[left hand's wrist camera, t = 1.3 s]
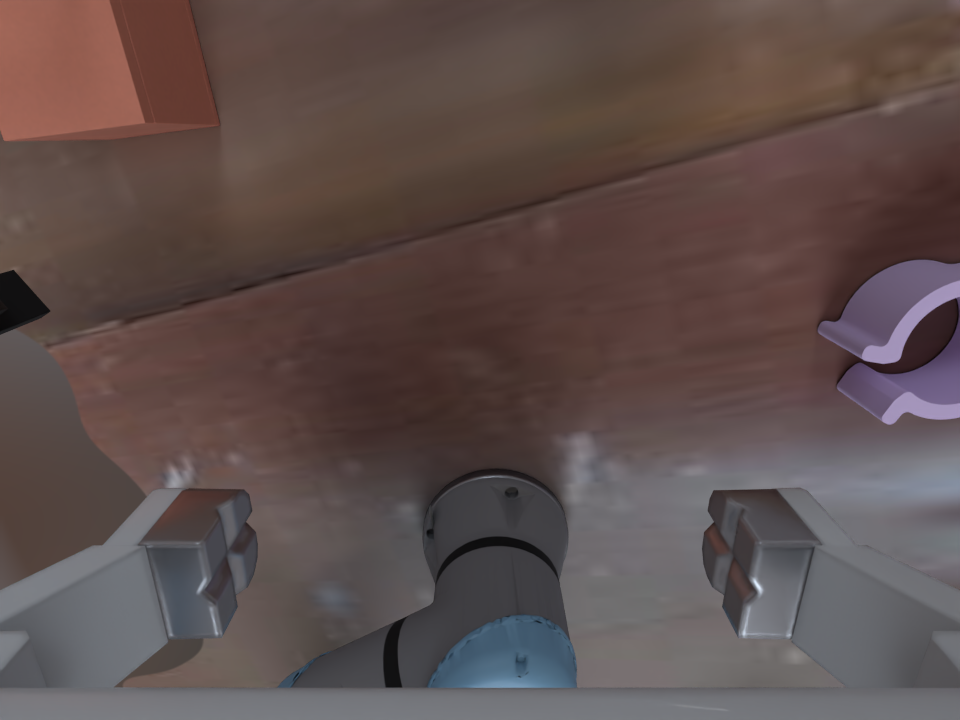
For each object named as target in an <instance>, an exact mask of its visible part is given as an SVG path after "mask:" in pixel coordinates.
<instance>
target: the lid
mask: <svg viewBox="0 0 960 720" xmlns="http://www.w3.org/2000/svg"><path fill="white" fill-rule="evenodd" d="M146 124H154V120H153V116H152V113H151V109H150V106H149V102H148V99H147V95H146V92H145V88H144V85H143V81H142V78H141V74H140V71H139V67H138V64H137V60H136V57H135V53H134V50H133V46H132V43H131V39H130V36H129V32H128V29H127V25H126V22H125V19H124V15H123V12H122V8H121V5H120V1H119V0H0V131H1V133H2V136H3V139H4V141H22V140H30V139H37V138H45V137H53V136H61V135H68V134H76V133H84V132H92V131H100V130H107V129H115V128H123V127H131V126H138V125H146Z"/></svg>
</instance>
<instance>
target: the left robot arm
mask: <svg viewBox="0 0 960 720" xmlns="http://www.w3.org/2000/svg"><path fill="white" fill-rule="evenodd" d="M251 512H252V507H251V502H250V497H249V494H248V493H247V492H246V491H245V490H243V489H194V488H189V489H186V488H160V489H156V490H153V491H152V492H151V493H150V494H149V495H148V496H147V498H146V499H145V500H144V501H143V502H142V503H141V504H140V505H139V506H138V507H137V509H136V510H135V511H134V512H133V513H132V514H131V515H130V516H129V517H128V518H127V519H126V521H125V522H124V523H123V524H122V525H121V526H120V527H119V528H118V529H117V530H116V531H115V532H114V534H113V535H112V536H111V537H110V538H109V539H108V540H107V541H106V542H105V543H104V544H103V546H91V547H89V548H87V549H85V550H83V551H81V552H79V553H77V554H75V555H73V556H70V557H68V558H66V559H64V560H62V561H60V562H58V563H56V564H54V565H52V566H50V567H48V568H45V569H43V570H41V571H39V572H37V573H35V574H33V575H31V576H29V577H27V578H25V579H23V580H21V581H18V582H16V583H14V584H12V585H10V586H8V587H6V588H4V589H2V590H0V720H960V590H958V589H956V588H954V587H952V586H950V585H948V584H946V583H944V582H941V581H939V580H937V579H935V578H933V577H931V576H929V575H927V574H925V573H923V572H921V571H919V570H917V569H914V568H912V567H910V566H908V565H906V564H904V563H902V562H900V561H898V560H896V559H894V558H892V557H890V556H887V555H885V554H883V553H881V552H879V551H877V550H875V549H873V548H871V547H869V546H857V544H856V543H855V542H854V541H853V540H852V539H851V538H850V537H849V536H848V535H847V534H846V532H845V531H844V530H843V529H842V528H841V527H840V526H839V525H838V524H837V523H836V522H835V520H834V519H833V518H832V517H831V516H830V515H829V514H828V513H827V512H826V511H825V510H824V508H823V507H822V506H821V505H820V504H819V503H818V502H817V501H816V500H815V499H814V498H813V496H812V495H811V494H810V493H809V492H808V491H806V490H804V489H802V488H781V489H757V490H714V491H713V493H712V495H711V497H710V500H709V506H708V512H709V514H710V516H711V517H712V519H713V521H714V523H713V524H712V525H711V526H710V527H709V528H708V529H707V530H706V531H705V532H704V538H703V546H702V552H703V564H704V568H705V571H706V574H707V577H708V579H709V581H710V583H711V585H712V587H713V588H714V589H716V590H717V591H719V592H720V593H722V594H723V595H724V600H723V606H722V607H723V609H724V611H725V613H726V615H727V617H728V619H729V621H730V623H731V625H732V626H733V628H734V630H735V632H736V634H737V636H738V638H761V639H792V643H794V644H795V645H796V646H797V647H798V648H800V649H801V650H802V651H803V652H805V653H806V654H807V655H808V656H809V657H811V658H812V659H813V660H814V661H816V662H817V663H818V664H819V665H820V666H822V667H823V668H824V669H825V670H827V671H828V672H829V673H830V674H831V675H833V676H834V677H835V678H836V679H837V680H839V681H840V682H841V683H842V684H844V685H845V686H846V687H847V688H113V687H114V686H115V685H117V684H118V683H119V682H120V681H121V680H123V679H124V678H125V677H126V676H128V675H129V674H130V673H131V672H132V671H134V670H135V669H136V668H137V667H139V666H140V665H141V664H142V663H143V662H145V661H146V660H147V659H148V658H150V657H151V656H152V655H153V654H154V653H156V652H157V651H158V650H159V649H160V648H162V647H163V646H164V645H165V644H167V643H168V639H198V638H222V636H223V634H224V632H225V630H226V628H227V627H228V625H229V623H230V621H231V619H232V617H233V615H234V613H235V611H236V609H237V607H238V606H237V600H236V595H237V594H238V593H240V592H241V591H243V590H244V589H246V588H247V587H248V585H249V583H250V581H251V579H252V577H253V575H254V571H255V566H256V562H257V551H258V544H257V537H256V532H255V531H254V530H253V529H252V528H251V527H250V526H249V525H248V524H247V523H246V521H247V519H248V517H249V516H250V514H251Z"/></svg>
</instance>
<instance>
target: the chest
mask: <svg viewBox="0 0 960 720" xmlns="http://www.w3.org/2000/svg"><path fill="white" fill-rule="evenodd" d="M119 1H120V5H121V8H122V12H123V15H124V19H125V22H126V25H127V29H128V32H129V36H130V39H131V43H132V46H133V50H134V53H135V57H136V60H137V64H138V67H139V71H140V74H141V78H142V81H143V85H144V88H145V92H146V95H147V99H148V102H149V106H150V109H151V113H152V116H153V120H154V124H146V125H138V126H131V127H123V128H115V129H107V130H100V131H92V132H84V133H76V134H68V135H61V136H53V137H45V138H37V139H30V140H22V141H52V140H112V139H120V138H128V137H136V136H143V135H151V134H159V133H167V132H175V131H183V130H190V129H198V128H206V127H214V126H220V122H219V118H218V114H217V110H216V107H215V103H214V99H213V95H212V91H211V87H210V83H209V79H208V75H207V71H206V67H205V63H204V59H203V55H202V51H201V47H200V43H199V39H198V35H197V31H196V27H195V23H194V19H193V15H192V11H191V7H190V3H189V0H119Z"/></svg>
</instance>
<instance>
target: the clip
mask: <svg viewBox="0 0 960 720" xmlns="http://www.w3.org/2000/svg"><path fill="white" fill-rule="evenodd" d="M954 298H957V301H958V306H959V320H958V324H957V328H956V331H955V333H954V335H953V337H952V339H951V341H950V342H949V344H948V345H947V346H946V348H945V349H944V350H943V351H942V352H941V353H940V354H939V355H938V356H937V357H936V358H935V359H933V360H932V361H931V362H929V363H928V364H926V365H924V366H922V367H920V368H918V369H916V370H913V371H910V372H907V373H902V374H884V373H879V372H876V371H875V370H873V369H871V368H870V367H868V366H866V365H865V364H863V363H857V364H855V365H854V366H853V367H851V368H850V369H849V370H848V371H847V372H846V373H845V375H844V376H843V377H842V379H841V380H840V382H839V383H838V384H837V389H838V390H839V391H841V392H842V393H843V394H845V395H846V396H848V397H849V398H850V399H852V400H853V401H855V402H856V403H857V404H859V405H860V406H862V407H863V408H864V409H866V410H867V411H869V412H870V413H871V414H873V415H874V416H876V417H877V418H878V419H880V420H881V421H883V422H884V423H886V424H893V423H895V422H896V421H897V419H898V418H899V417H900V416H901V415H902V414H903V413H905V412H910V413H912V414H914V415H917V416H920V417H924V418H929V419H953V418H958V417H960V263H957V264H945V263H941V262H938V261H933V260H912V261H907V262H903V263H899V264H896V265H893V266H891V267H889V268H887V269H885V270H883V271H881V272H879V273H878V274H876V275H875V276H873V277H872V278H870V279H869V280H868V281H867V282H866V283H864V284H863V285H862V286H861V287H860V288H859V289H858V290H857V292H856V293H855V294H854V295H853V296H852V298H851V299H850V301H849V302H848V304H847V306H846V307H845V309H844V311H843V314H842V316H841V318H840V320H838V321H836V322H831V321H823V322H821V323H820V325H819V327H818V333H819V334H820V335H822V336H824V337H826V338H827V339H829V340H831V341H832V342H834V343H836V344H837V345H839V346H841V347H843V348H844V349H846V350H848V351H849V352H851V353H853V354H854V355H856V356H858V357H860V358H861V359H863V360H865V361H869V362H875V363H881V364H886V363H892V362H896V361H898V360H899V359H900V358H901V355H902V351H903V347H904V345H905V342H906V340H907V338H908V336H909V335H910V333H911V332H912V330H913V329H914V327H915V326H916V325H917V324H918V323H919V321H920V320H921V319H922V318H923V317H924V316H926V315H927V314H928V313H929V312H930V311H932V310H933V309H935V308H936V307H938V306H939V305H941V304H943V303H945V302H947V301H949V300H952V299H954Z"/></svg>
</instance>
